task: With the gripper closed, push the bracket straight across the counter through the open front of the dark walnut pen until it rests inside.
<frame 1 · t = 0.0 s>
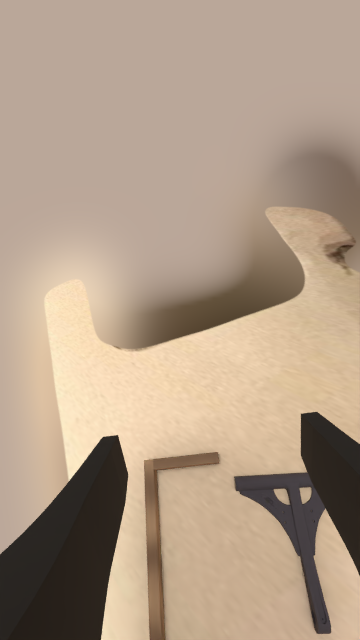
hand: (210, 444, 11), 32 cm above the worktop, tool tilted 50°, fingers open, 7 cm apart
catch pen: (223, 551, 35), on the worktop
bracket: (300, 542, 36), on the worktop
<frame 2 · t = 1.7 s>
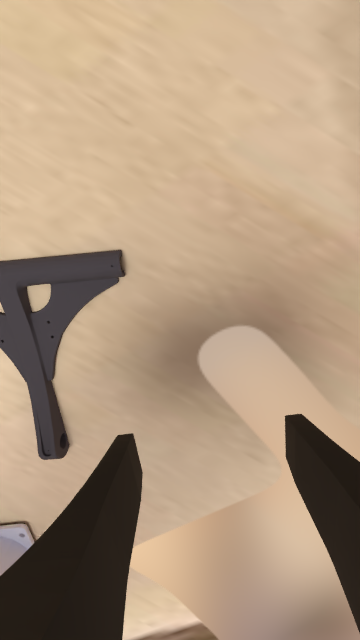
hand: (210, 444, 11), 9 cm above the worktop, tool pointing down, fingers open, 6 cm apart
bracket: (41, 359, 22), on the worktop
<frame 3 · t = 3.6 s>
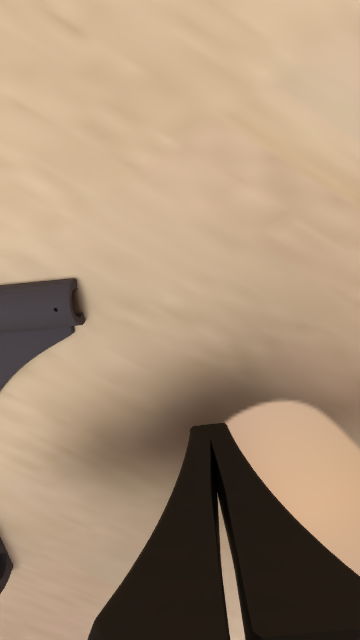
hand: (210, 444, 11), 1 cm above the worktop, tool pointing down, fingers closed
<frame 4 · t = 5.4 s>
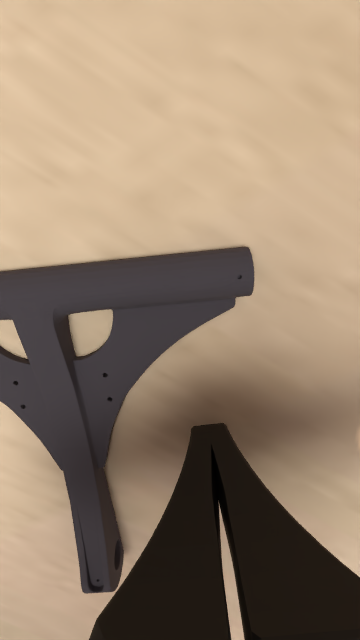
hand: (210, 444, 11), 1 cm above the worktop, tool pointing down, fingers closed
bracket: (84, 427, 13), on the worktop
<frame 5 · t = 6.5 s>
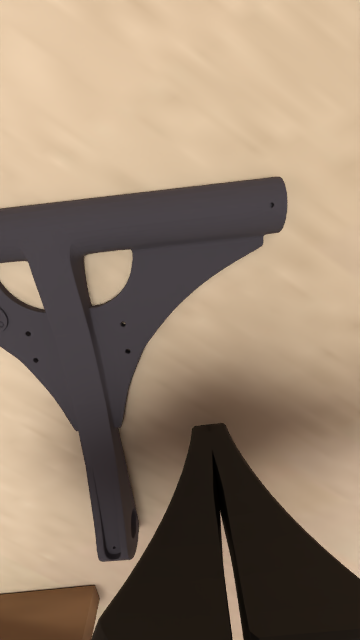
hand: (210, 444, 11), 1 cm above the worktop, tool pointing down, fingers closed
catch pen: (19, 451, 13), on the worktop
bracket: (98, 388, 13), on the worktop, touching gripper
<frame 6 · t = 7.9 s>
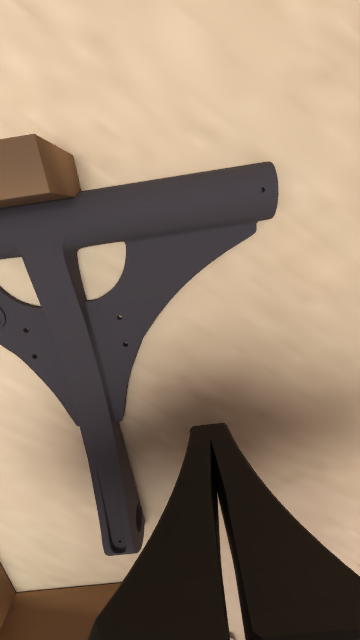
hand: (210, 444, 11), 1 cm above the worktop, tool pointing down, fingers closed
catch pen: (115, 439, 12), on the worktop
bracket: (98, 383, 13), on the worktop
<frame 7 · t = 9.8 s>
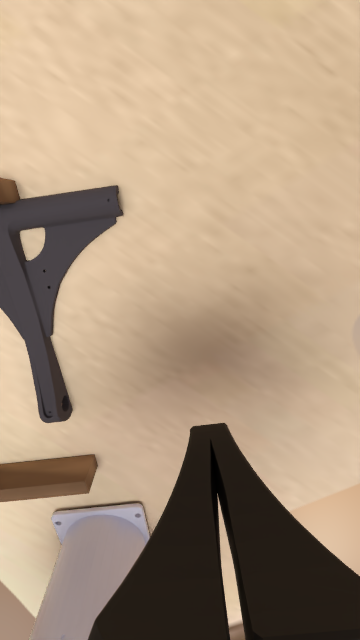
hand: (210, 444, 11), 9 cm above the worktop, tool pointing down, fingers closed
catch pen: (49, 350, 20), on the worktop
bracket: (39, 316, 20), on the worktop
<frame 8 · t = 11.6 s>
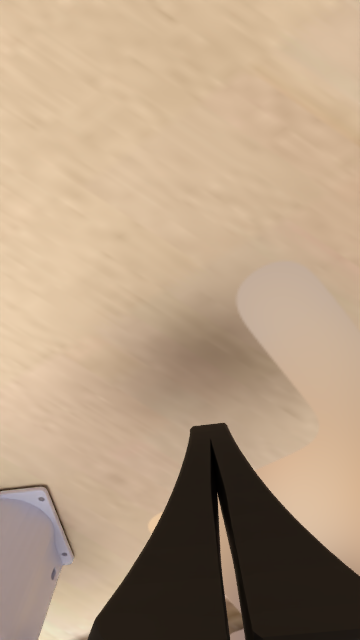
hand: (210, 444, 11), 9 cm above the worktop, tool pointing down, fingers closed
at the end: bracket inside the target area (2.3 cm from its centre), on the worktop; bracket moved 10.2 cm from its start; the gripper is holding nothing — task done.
